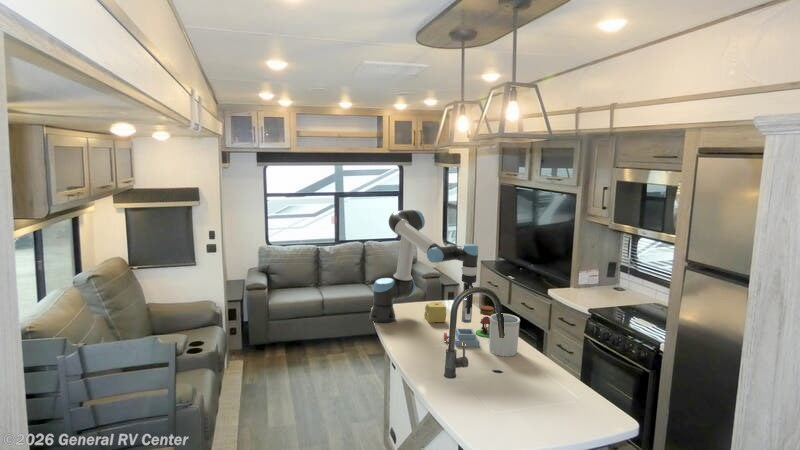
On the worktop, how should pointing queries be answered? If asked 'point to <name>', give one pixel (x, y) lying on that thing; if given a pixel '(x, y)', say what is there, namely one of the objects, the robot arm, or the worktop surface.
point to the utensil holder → (510, 339)
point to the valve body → (464, 337)
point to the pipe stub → (464, 312)
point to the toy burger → (485, 321)
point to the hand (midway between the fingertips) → (466, 317)
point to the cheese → (435, 312)
